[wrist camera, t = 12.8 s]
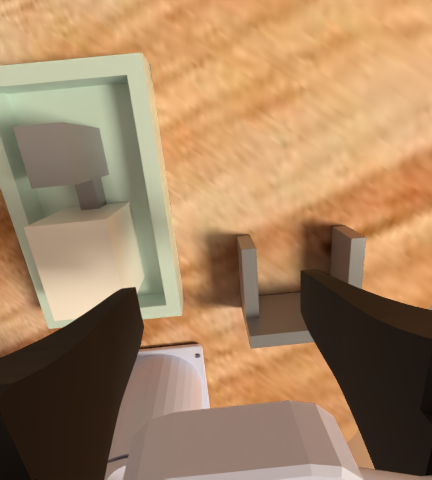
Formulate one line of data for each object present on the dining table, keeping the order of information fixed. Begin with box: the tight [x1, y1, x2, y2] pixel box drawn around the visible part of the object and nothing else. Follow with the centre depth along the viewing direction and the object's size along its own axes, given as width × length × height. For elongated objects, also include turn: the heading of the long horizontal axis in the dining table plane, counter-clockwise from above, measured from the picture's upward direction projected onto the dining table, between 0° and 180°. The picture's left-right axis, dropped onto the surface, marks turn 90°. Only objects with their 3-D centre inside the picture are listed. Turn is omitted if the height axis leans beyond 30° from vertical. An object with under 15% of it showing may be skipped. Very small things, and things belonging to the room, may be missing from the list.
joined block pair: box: [13, 122, 144, 321], centre depth 18 cm, size 11×4×5 cm, turn 5°
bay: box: [237, 225, 366, 348], centre depth 20 cm, size 6×8×5 cm
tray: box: [0, 53, 184, 329], centre depth 19 cm, size 17×10×2 cm, turn 5°
